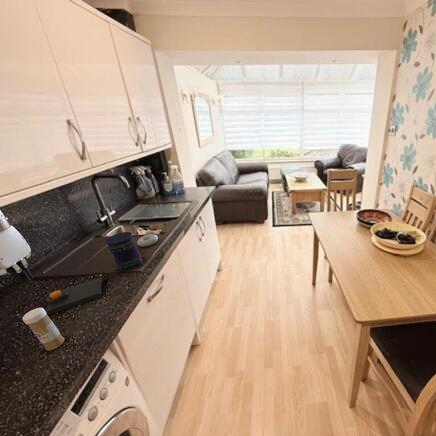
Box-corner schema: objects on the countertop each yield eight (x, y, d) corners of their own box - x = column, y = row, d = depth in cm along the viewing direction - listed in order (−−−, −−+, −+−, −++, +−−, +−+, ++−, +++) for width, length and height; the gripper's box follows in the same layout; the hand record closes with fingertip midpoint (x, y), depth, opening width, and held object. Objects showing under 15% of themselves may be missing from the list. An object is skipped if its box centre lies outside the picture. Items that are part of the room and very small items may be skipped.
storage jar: (113, 270, 108) (99, 242, 102) (130, 258, 117) (118, 231, 110) (132, 271, 106) (119, 243, 100) (147, 259, 115) (137, 232, 108)
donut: (137, 242, 131) (138, 250, 123) (135, 237, 129) (136, 244, 122) (157, 236, 135) (159, 243, 128) (155, 231, 134) (157, 238, 126)
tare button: (50, 300, 89) (48, 297, 88) (52, 295, 91) (50, 292, 90) (60, 296, 90) (58, 293, 89) (62, 292, 92) (60, 289, 92)
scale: (46, 316, 86) (41, 308, 84) (55, 296, 95) (50, 289, 94) (101, 296, 93) (97, 289, 91) (104, 280, 102) (101, 273, 101)
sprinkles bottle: (42, 352, 72) (17, 321, 66) (52, 339, 76) (29, 308, 70) (59, 349, 73) (35, 317, 67) (68, 336, 77) (47, 305, 71)
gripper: (-2, 218, 71) (32, 268, 79) (-59, 244, 58) (-12, 300, 66) (26, 215, 72) (57, 264, 80) (-23, 239, 59) (19, 295, 67)
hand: (26, 280), depth 73 cm, fingers closed
